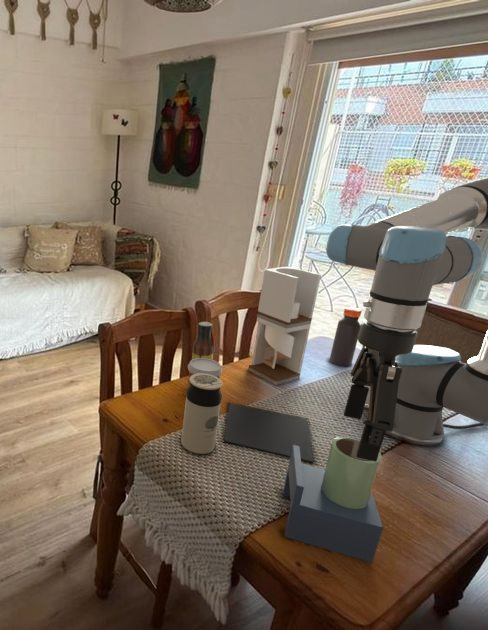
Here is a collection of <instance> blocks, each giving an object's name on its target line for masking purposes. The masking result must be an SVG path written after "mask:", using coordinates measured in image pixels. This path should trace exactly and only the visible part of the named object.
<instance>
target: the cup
mask: <svg viewBox="0 0 488 630" xmlns="http://www.w3.org/2000/svg"><path fill="white" fill-rule="evenodd" d="M360 440H361V439H358V438H355V437H350V436H338V437H336V438H333V440H332V441H331V445H330V449H329V453H328V457H327V460H326V465H325V472H324V476H323V480H322V484H321V489H322V492H323V493H324V494H325V496H326V497H327V498H329V499H330V500H331V501H333V502H334V503H336V504H338V505H341V506H343V507H346V508H351V509H362V508H364V507H366V506H367V505H368V501H369V498H370V495H371V492H372V493H373V488H374V484H375V481H376V479H377V476H378V472H379V467H380V464H381V462H382V459H383V458H382V454H381V452H380V451H379V455H378V458H377V461H376V462H375V461H371V460H367V459H362V458H358V457H357V456H356V454H357V450H358V447H359V443H360Z"/></svg>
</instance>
